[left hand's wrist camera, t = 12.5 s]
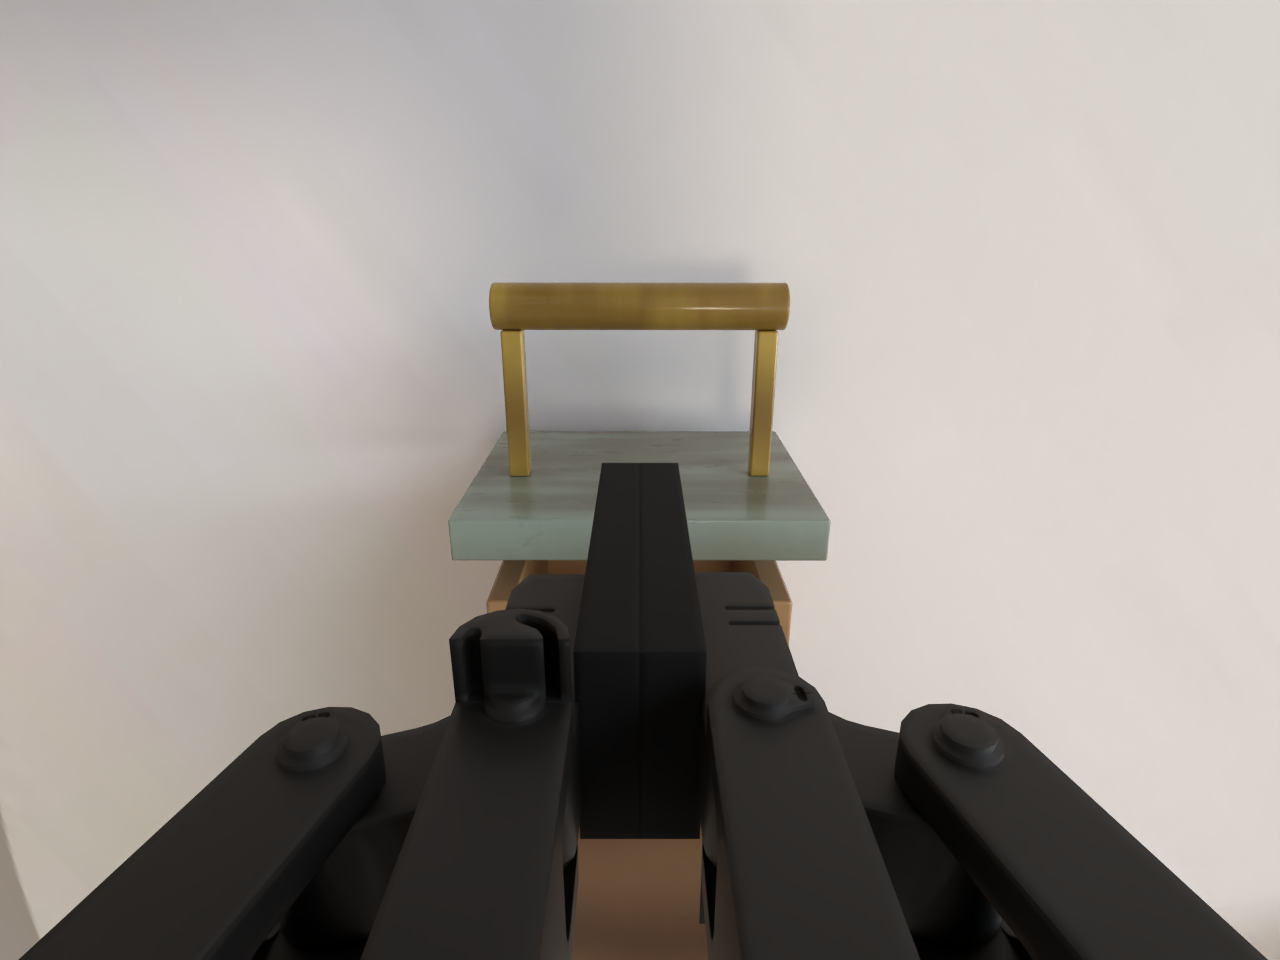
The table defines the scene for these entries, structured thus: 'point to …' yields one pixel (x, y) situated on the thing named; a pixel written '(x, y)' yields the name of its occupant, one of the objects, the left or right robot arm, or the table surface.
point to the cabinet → (639, 900)
